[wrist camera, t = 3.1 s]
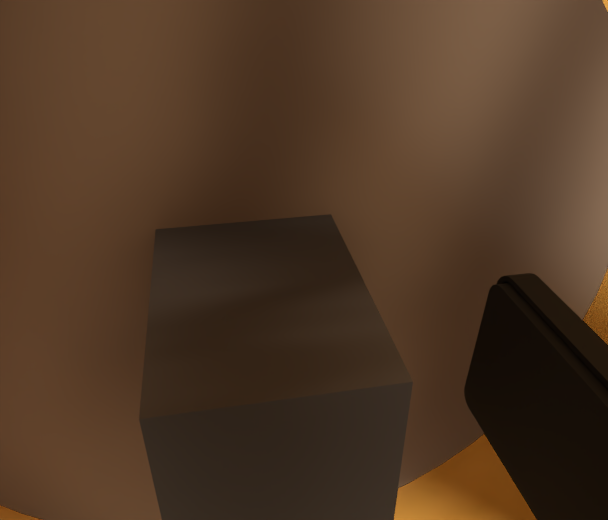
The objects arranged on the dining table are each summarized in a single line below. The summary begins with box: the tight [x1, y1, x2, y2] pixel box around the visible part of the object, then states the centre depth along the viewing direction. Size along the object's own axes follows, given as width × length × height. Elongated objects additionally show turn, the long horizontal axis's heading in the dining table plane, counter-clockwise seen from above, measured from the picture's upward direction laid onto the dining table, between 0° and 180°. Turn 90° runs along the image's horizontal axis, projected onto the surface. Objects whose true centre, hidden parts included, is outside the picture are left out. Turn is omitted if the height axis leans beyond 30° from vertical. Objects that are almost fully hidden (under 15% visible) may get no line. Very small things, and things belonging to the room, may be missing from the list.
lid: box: [0, 0, 608, 520], centre depth 11 cm, size 18×18×6 cm
